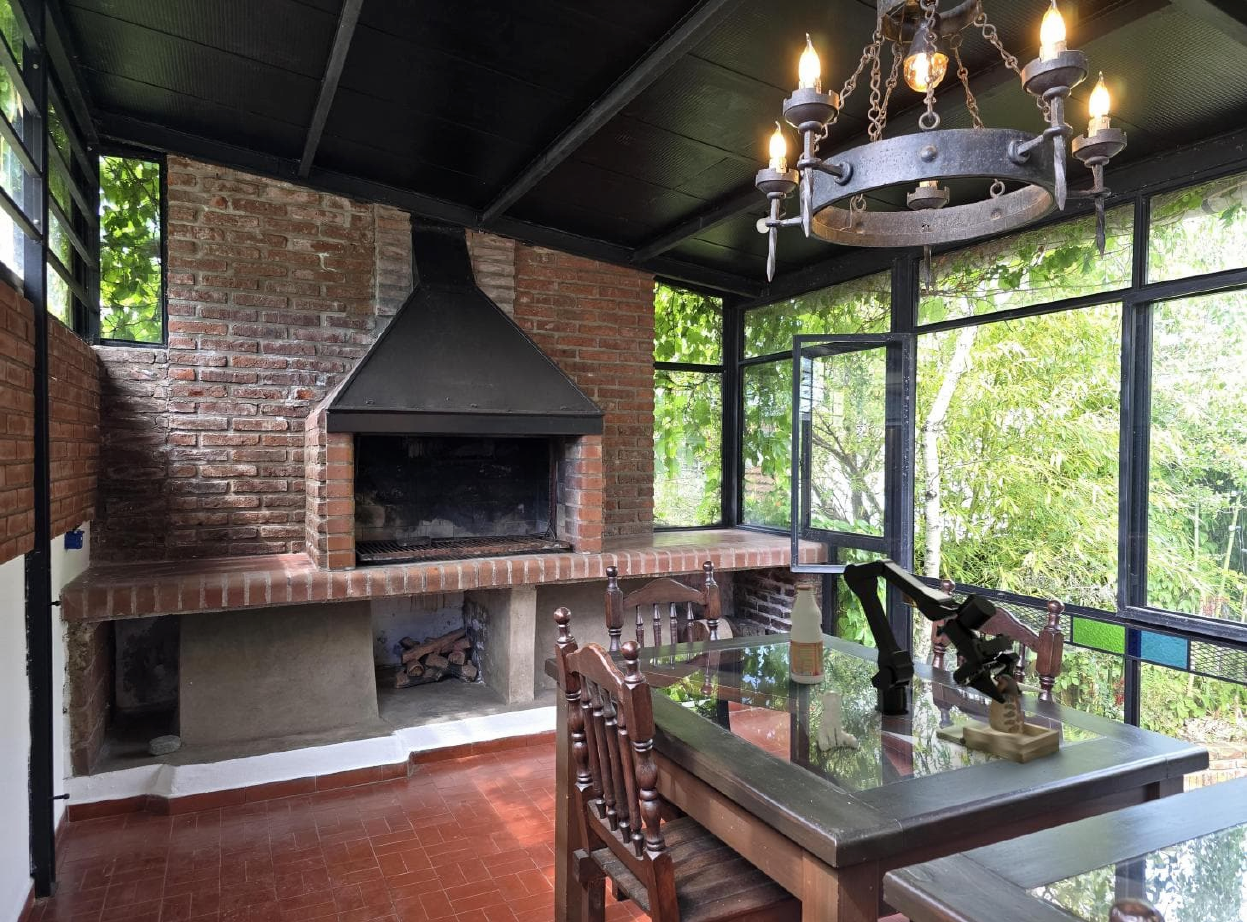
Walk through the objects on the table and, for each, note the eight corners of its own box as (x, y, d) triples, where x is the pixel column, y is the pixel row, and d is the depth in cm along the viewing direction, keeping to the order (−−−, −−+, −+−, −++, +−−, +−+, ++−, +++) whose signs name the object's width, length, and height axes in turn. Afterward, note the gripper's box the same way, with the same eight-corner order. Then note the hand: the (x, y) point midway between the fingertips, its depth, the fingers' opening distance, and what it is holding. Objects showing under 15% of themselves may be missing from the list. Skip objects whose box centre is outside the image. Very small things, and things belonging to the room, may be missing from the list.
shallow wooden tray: (935, 736, 182) (935, 719, 182) (972, 724, 190) (972, 707, 190) (1022, 764, 164) (1022, 745, 164) (1059, 749, 172) (1059, 731, 172)
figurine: (1032, 731, 173) (1030, 676, 173) (1007, 735, 170) (1005, 680, 170) (1006, 721, 179) (1004, 669, 179) (982, 725, 177) (980, 672, 177)
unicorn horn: (1046, 697, 210) (1045, 679, 210) (952, 685, 224) (952, 668, 224) (1048, 693, 214) (1048, 675, 214) (956, 681, 228) (956, 664, 228)
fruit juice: (799, 685, 226) (797, 589, 226) (786, 677, 235) (783, 584, 235) (829, 683, 228) (827, 587, 228) (815, 674, 237) (812, 582, 237)
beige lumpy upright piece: (821, 752, 174) (819, 698, 174) (804, 739, 183) (803, 687, 183) (860, 748, 176) (858, 695, 176) (842, 735, 184) (840, 684, 184)
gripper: (963, 626, 173) (1012, 688, 164) (1011, 616, 183) (1060, 673, 174) (933, 655, 180) (978, 715, 170) (981, 643, 190) (1026, 700, 180)
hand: (1012, 700), depth 174 cm, fingers closed on figurine, 6 cm apart
